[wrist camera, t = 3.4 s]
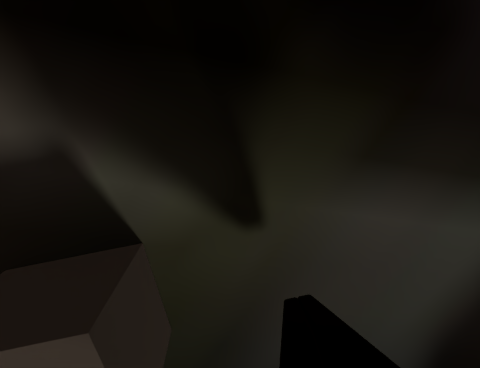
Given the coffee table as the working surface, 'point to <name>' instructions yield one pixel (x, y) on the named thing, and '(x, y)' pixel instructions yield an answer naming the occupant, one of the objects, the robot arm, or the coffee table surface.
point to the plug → (84, 313)
